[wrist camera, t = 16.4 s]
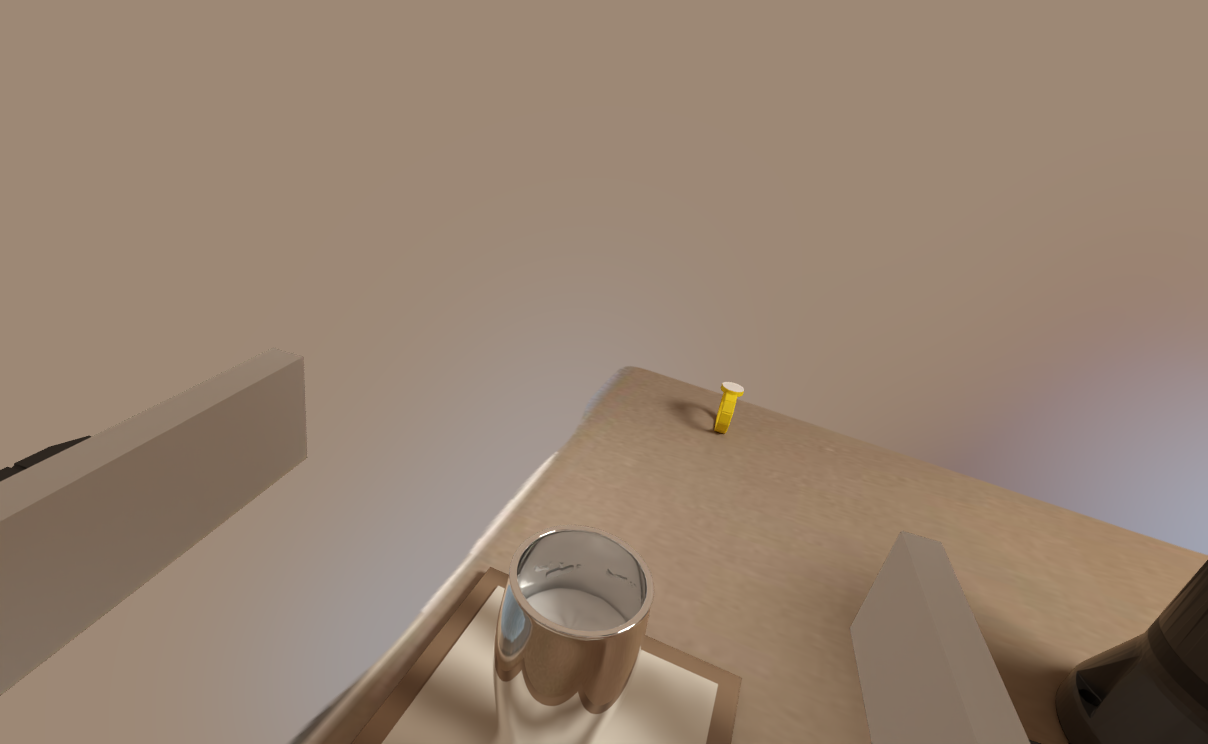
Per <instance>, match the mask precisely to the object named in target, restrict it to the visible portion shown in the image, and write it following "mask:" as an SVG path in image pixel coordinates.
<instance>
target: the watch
mask: <svg viewBox="0 0 1208 744" xmlns="http://www.w3.org/2000/svg"><path fill="white" fill-rule="evenodd" d="M721 390H722V391H723V392H724V393H723V396H722V399H721V403H720V406H719V410H718V413H717V417H716V423H715V429H714V431H716V432H719V433H723V434H725V433H726V432H727V429H728V427H729V424H730V421H731V418H732V414H733V411H734V408H735V404H736V400H737V397H740V396H742V395H743V393H744V388H743V387H742V386H740V385H738V384H736V383H732V382H724V383H722V386H721Z"/></svg>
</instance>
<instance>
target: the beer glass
mask: <svg viewBox="0 0 1208 744" xmlns="http://www.w3.org/2000/svg"><path fill="white" fill-rule="evenodd" d="M653 598H654V582H653V578H652V575H651V572H650V570H649V568H648V566H647V564H646V562H645V561H644V559H643V558H642V557H641V556H640V554H639V553H638V552H637V551H636V550H635V549H634V548H633V547H631V546H630V545H629V544H628V543H626V542H625V541H623V540H622V539H620V538H619V537H617V536H615V535H613V534H611V533H608V532H606V531H603V530H600V529H597V528H593V527H588V526H581V525H562V526H555V527H551V528H547V529H544V530H542V531H539V532H537V533H535V534H534V535H532V536H530V537H529V538H528V539H526V540H525V541H524V542H523V543H522V544H521V545H520V546H519V548H518V549H517V550H516V552H515V554H514V556H513V558H512V561H511V564H510V572H509V576H508V579H507V583H506V586H505V590H504V593H503V597H502V601H501V605H500V609H499V614H498V619H497V624H496V629H495V637H494V647H493V684H494V695H495V704H496V713H497V728H496V730H495V732H494V734H493V736H492V738H491V740H490V743H489V744H597V742H598V741H599V739H600V738H601V736H602V735H603V733H604V732H605V730H606V729H607V727H608V725H609V724H610V722H611V721H612V719H613V718H614V716H615V714H616V713H617V711H618V709H619V707H620V705H621V703H622V702H623V700H624V698H625V696H626V694H627V692H628V690H629V687H630V685H631V682H632V679H633V677H634V674H635V671H636V669H637V666H638V662H639V658H640V655H641V651H642V647H643V643H644V638H645V633H646V629H647V623H648V618H649V612H650V607H651V605H652V602H653Z"/></svg>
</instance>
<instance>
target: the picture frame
mask: <svg viewBox="0 0 1208 744" xmlns="http://www.w3.org/2000/svg"><path fill="white" fill-rule="evenodd" d="M508 576H509V575H508V574H505V573H503V572H501V571H499V570H496V569H494V568H492V567H490V568H489V569H488V571H487V572H486V573H485V574H484V576H483V577H482V578H481V580H480V581H479V582H478V583H477V585H476V586H475V587H474V588H473V590H472V591H471V592H470V593H469V595H468V596H467V597H466V599H465V600H464V601H463V602H462V604H461V605H460V606H459V607H458V609H457V610H456V611H455V613H454V614H453V615H452V616H451V618H450V619H449V620H448V621H447V623H446V624H445V625H444V626H443V628H442V629H441V630H440V632H439V633H438V634H437V635H436V637H435V638H434V639H433V640H432V642H431V643H430V644H429V646H428V647H427V648H426V649H425V651H424V652H423V653H422V654H421V656H420V657H419V658H418V659H417V661H416V662H415V663H414V665H413V666H412V667H411V668H410V670H409V671H408V672H407V673H406V675H405V676H404V677H403V679H402V680H401V681H400V682H399V684H398V685H397V686H396V687H395V689H394V690H393V691H392V692H391V694H390V695H389V696H388V698H387V699H386V700H385V701H384V703H383V704H382V705H381V706H380V708H379V709H378V710H377V712H376V713H375V714H374V715H373V717H372V718H371V719H370V720H369V722H368V723H367V724H366V725H365V727H364V728H363V729H362V731H361V732H360V733H359V734H358V736H357V737H356V738H355V739H354V741H353V742H352V743H351V744H489V743H490V740H491V738H492V736H493V734H494V732H495V730H496V728H497V713H496V704H495V695H494V684H493V647H494V637H495V629H496V624H497V619H498V614H499V609H500V605H501V601H502V597H503V593H504V590H505V586H506V583H507V579H508ZM741 680H742V678H741V677H739V676H736V675H734V674H732V673H730V672H727V671H725V670H723V669H721V668H718V667H716V666H714V665H712V664H709V663H707V662H705V661H703V660H700V659H698V658H696V657H693V656H691V655H689V654H687V653H684V652H682V651H680V650H678V649H675V648H673V647H671V646H669V645H666V644H664V643H662V642H659V641H657V640H655V639H653V638H650V637H648V636H646V635H645V638H644V643H643V647H642V651H641V655H640V658H639V662H638V666H637V669H636V671H635V674H634V677H633V679H632V682H631V685H630V687H629V690H628V692H627V694H626V696H625V698H624V700H623V702H622V703H621V705H620V707H619V709H618V711H617V713H616V714H615V716H614V718H613V719H612V721H611V722H610V724H609V725H608V727H607V729H606V730H605V732H604V733H603V735H602V736H601V738H600V739H599V741H598V742H597V744H731V740H732V734H733V728H734V722H735V716H736V710H737V704H738V698H739V692H740V686H741Z"/></svg>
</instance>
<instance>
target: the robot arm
mask: <svg viewBox="0 0 1208 744" xmlns="http://www.w3.org/2000/svg"><path fill="white" fill-rule="evenodd" d="M306 458H307V438H306V411H305V385H304V357H303V356H300V355H296V354H293V353H289V352H286V351H282V350H279V349H275V348H272V349H270V350H268V351H266V352H264V353H262V354H259V355H258V356H255V357H253V358H251V359H249V360H247V361H245V362H243V363H241V364H239V365H237V366H235V367H233V368H231V369H229V370H227V371H225V372H223V373H221V374H219V375H217V376H215V377H213V378H211V379H209V380H206V381H205V382H202V383H200V384H198V385H196V386H194V387H192V388H190V389H188V390H186V391H184V392H182V393H180V394H178V395H176V396H174V397H172V398H170V399H168V400H166V401H164V402H162V403H160V404H158V405H156V406H153V407H152V408H149V409H147V410H145V411H143V412H142V413H139V414H137V415H135V416H133V417H131V418H129V419H127V420H125V421H123V422H121V423H119V424H117V425H115V426H113V427H111V428H109V429H107V430H105V431H103V432H101V433H99V434H96V435H94V436H92V437H91V436H86V437H83V438H79V439H75V440H72V441H68V442H65V443H61V444H58V445H54V446H51V447H48V448H46V449H44V450H42V451H40V452H38V453H36V454H33V455H31V456H29V457H27V458H25V459H23V460H21V461H19V462H16V463H15V464H14V466H13V467H12V468H9V467H6V468H4V469H2V470H0V695H2V694H3V693H4V692H6V691H7V690H8V689H10V688H11V687H12V686H13V685H15V684H16V683H17V682H19V680H21V679H22V678H24V677H25V676H26V675H28V674H29V673H30V672H31V671H33V670H34V669H35V668H37V667H38V666H39V665H40V664H42V663H43V662H44V661H46V660H47V659H48V658H49V657H51V656H52V655H53V654H55V653H56V652H57V651H58V650H60V649H61V648H62V647H64V646H65V645H66V644H67V643H69V642H70V641H71V640H73V639H74V638H75V637H77V636H78V635H79V634H80V633H82V632H83V631H84V630H86V629H87V628H88V627H89V626H91V625H92V624H93V623H95V622H96V621H97V620H98V619H100V618H101V617H102V616H104V615H105V614H106V613H108V612H109V611H110V610H111V609H113V608H114V607H115V606H117V605H118V604H119V603H120V602H122V601H123V600H124V599H125V598H127V597H128V596H129V595H130V594H132V593H133V592H134V591H136V590H137V589H138V588H140V587H141V586H142V585H144V584H145V583H146V582H147V581H149V580H150V579H151V578H153V577H154V576H155V575H156V574H158V573H159V572H160V571H162V570H163V569H164V568H165V567H167V566H168V565H169V564H171V563H172V562H173V561H175V560H176V559H177V558H178V557H180V556H181V555H182V554H183V553H185V552H186V551H187V550H189V549H190V548H191V547H193V546H194V545H195V544H196V543H198V542H199V541H200V540H202V539H203V538H204V537H206V536H207V535H208V534H209V533H211V532H212V531H213V530H214V529H216V528H217V527H218V526H220V525H221V524H222V523H224V522H225V521H226V520H227V519H229V518H230V517H231V516H232V515H234V514H235V513H236V512H238V511H239V510H240V509H242V508H243V507H244V506H245V505H247V504H248V503H249V502H251V501H252V500H253V499H255V498H256V497H257V496H258V495H260V494H261V493H262V492H263V491H265V490H266V489H267V488H269V487H270V486H271V485H273V484H274V483H275V482H276V481H278V480H279V479H280V478H282V477H283V476H284V475H285V474H287V473H288V472H289V471H291V470H292V469H293V468H294V467H296V466H297V465H298V464H299V463H301V462H302V461H304V460H305V459H306ZM850 632H851V637H852V643H853V648H854V653H855V658H856V664H857V669H858V674H859V679H860V685H861V690H862V695H863V700H864V706H865V711H866V716H867V721H868V726H869V732H870V737H871V742H872V744H1041V743H1038V742H1034V741H1031V740H1029V739H1028V737H1027V735H1026V733H1025V730H1024V728H1023V726H1022V723H1021V721H1020V719H1019V717H1018V714H1017V712H1016V710H1015V708H1014V705H1013V703H1012V701H1011V699H1010V696H1009V694H1008V692H1007V690H1006V687H1005V685H1004V683H1003V681H1002V678H1001V676H1000V674H999V671H998V669H997V667H996V665H995V662H994V660H993V658H992V656H991V653H990V651H989V649H988V647H987V644H986V642H985V640H984V638H983V635H982V633H981V631H980V629H979V626H978V624H977V622H976V619H975V617H974V615H973V613H972V610H971V608H970V606H969V604H968V601H967V599H966V597H965V595H964V592H963V590H962V588H961V586H960V583H959V581H958V579H957V577H956V574H955V572H954V570H953V567H952V565H951V563H950V561H949V558H948V556H947V554H946V552H945V549H944V547H943V545H942V543H941V542H939V541H935V540H932V539H929V538H925V537H922V536H918V535H915V534H911V533H908V532H905V531H901V532H900V534H899V536H898V538H897V540H896V541H895V543H894V545H893V547H892V549H891V551H890V553H889V555H888V557H887V558H886V560H885V562H884V564H883V566H882V568H881V570H880V572H879V574H878V576H877V577H876V579H875V581H874V583H873V585H872V587H871V589H870V591H869V593H868V594H867V596H866V598H865V600H864V602H863V604H862V606H861V608H860V610H859V611H858V613H857V615H856V617H855V619H854V621H853V623H852V625H851V627H850ZM1056 709H1057V714H1058V717H1059V720H1060V723H1061V726H1062V728H1063V730H1064V732H1065V734H1066V736H1067V738H1068V740H1069V742H1070V744H1208V560H1207V561H1206V562H1205V564H1204V565H1203V566H1202V567H1201V568H1200V569H1199V571H1198V572H1197V573H1196V574H1195V575H1194V576H1193V577H1192V579H1191V580H1190V581H1189V582H1188V583H1187V584H1186V585H1185V587H1184V588H1183V589H1182V590H1181V591H1180V592H1179V593H1178V595H1177V596H1176V597H1175V598H1174V599H1173V600H1172V602H1171V603H1170V604H1169V605H1168V606H1167V607H1166V608H1165V610H1164V611H1163V612H1162V613H1161V615H1160V616H1159V617H1158V618H1157V619H1156V620H1155V622H1154V623H1153V624H1152V625H1151V626H1150V627H1149V628H1148V630H1147V631H1146V632H1145V633H1143V634H1142V635H1139V636H1137V637H1135V638H1133V639H1131V640H1129V641H1126V642H1124V643H1122V644H1120V645H1118V646H1115V647H1113V648H1111V649H1109V650H1107V651H1105V652H1102V653H1100V654H1098V655H1096V656H1094V657H1092V658H1089V659H1087V660H1085V661H1083V662H1081V663H1080V664H1079V665H1077V666H1076V667H1075V668H1074V669H1073V670H1072V671H1071V673H1070V674H1069V675H1068V676H1067V678H1066V679H1065V680H1064V681H1063V683H1062V684H1061V685H1060V686H1059V688H1058V691H1057V694H1056Z"/></svg>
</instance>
